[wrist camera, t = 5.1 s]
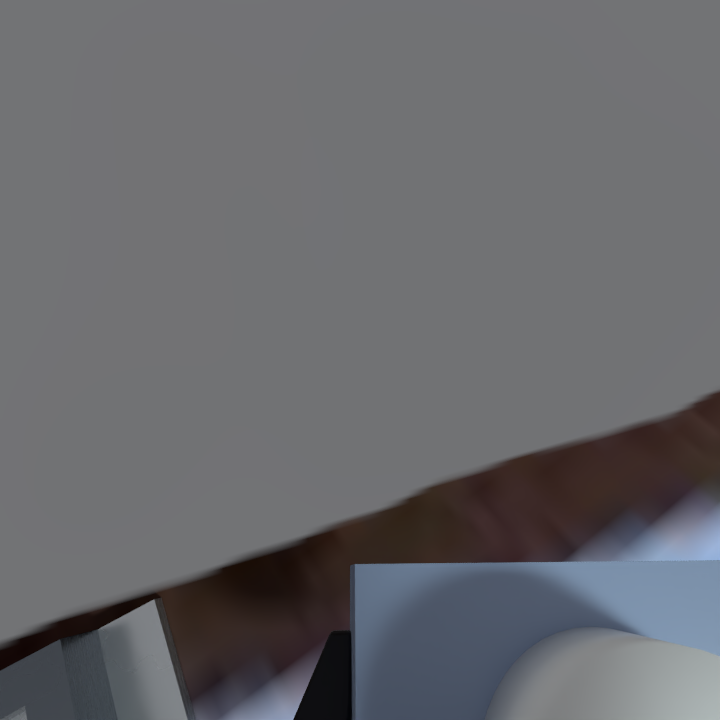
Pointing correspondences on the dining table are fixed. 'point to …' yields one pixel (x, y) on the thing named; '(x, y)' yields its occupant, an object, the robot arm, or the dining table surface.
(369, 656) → the light blue tall block
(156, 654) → the frame
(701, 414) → the dining table surface
